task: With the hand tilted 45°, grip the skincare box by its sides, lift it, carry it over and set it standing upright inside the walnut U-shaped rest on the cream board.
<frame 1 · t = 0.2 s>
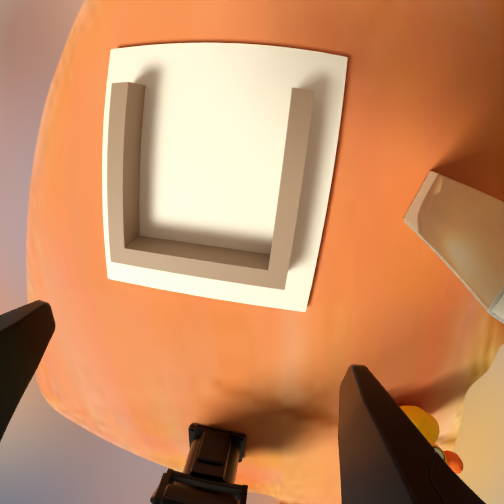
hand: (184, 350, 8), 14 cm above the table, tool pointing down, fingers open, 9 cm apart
skincare box: (443, 213, 20), on the table
duckling: (398, 411, 28), on the table
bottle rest: (208, 174, 21), on the table
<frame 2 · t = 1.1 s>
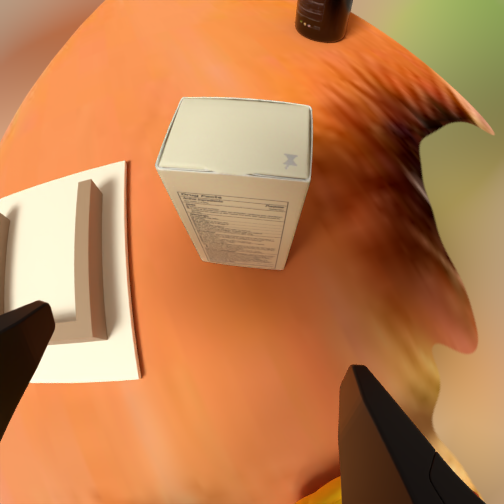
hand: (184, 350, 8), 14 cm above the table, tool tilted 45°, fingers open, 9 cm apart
supplement bottle: (318, 32, 34), on the table
skincare box: (243, 240, 24), on the table
duckling: (347, 492, 17), on the table
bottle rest: (46, 274, 22), on the table
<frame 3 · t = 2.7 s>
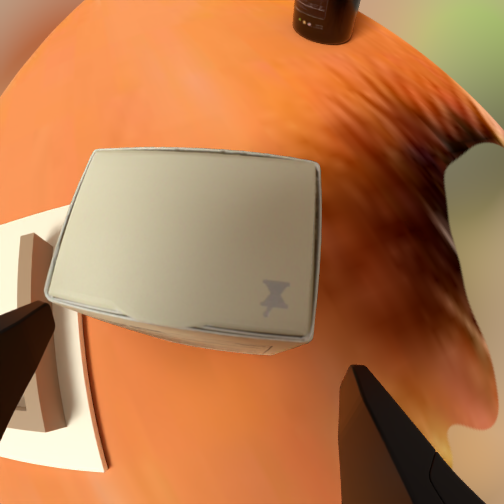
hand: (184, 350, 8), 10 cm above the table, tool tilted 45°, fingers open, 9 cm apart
supplement bottle: (320, 32, 29), on the table
skincare box: (222, 314, 18), on the table
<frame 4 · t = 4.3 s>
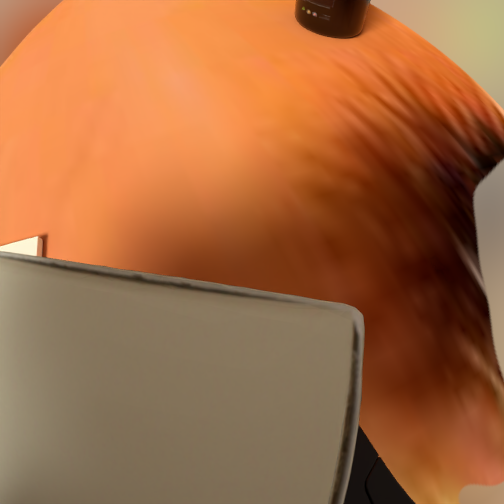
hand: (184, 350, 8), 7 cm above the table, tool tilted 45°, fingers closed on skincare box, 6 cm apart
supplement bottle: (327, 24, 24), on the table
skincare box: (206, 382, 14), on the table, touching gripper
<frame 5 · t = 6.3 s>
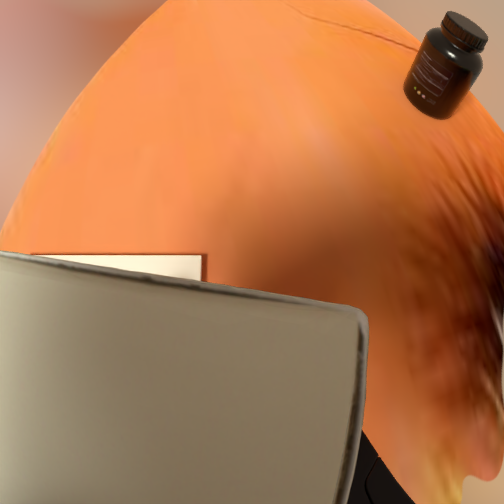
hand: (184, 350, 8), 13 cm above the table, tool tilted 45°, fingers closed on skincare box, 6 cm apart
supplement bottle: (426, 100, 29), on the table
skincare box: (205, 381, 14), point 6 cm above the table, touching gripper
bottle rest: (94, 374, 20), on the table
when the fingers open (8 cm above the table, at t = 8.6 s): skincare box drops 1 cm, resting on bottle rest.
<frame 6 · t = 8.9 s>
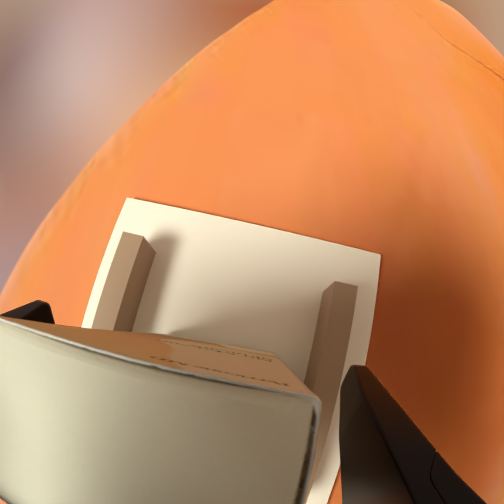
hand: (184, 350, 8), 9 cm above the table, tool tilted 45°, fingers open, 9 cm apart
skincare box: (208, 381, 15), point 1 cm above the table, touching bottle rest
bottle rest: (210, 379, 16), on the table
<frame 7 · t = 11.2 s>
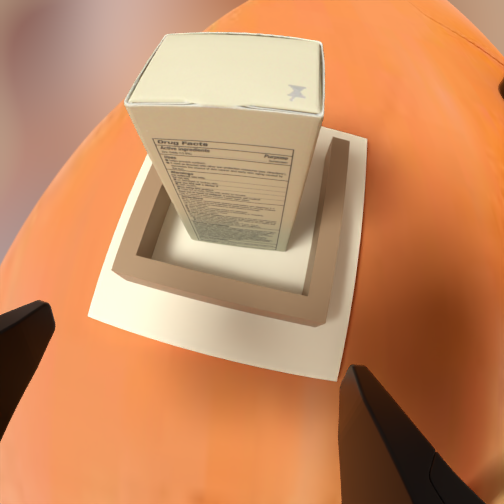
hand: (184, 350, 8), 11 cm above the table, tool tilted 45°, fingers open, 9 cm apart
skincare box: (240, 217, 20), resting on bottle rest
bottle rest: (240, 218, 21), on the table
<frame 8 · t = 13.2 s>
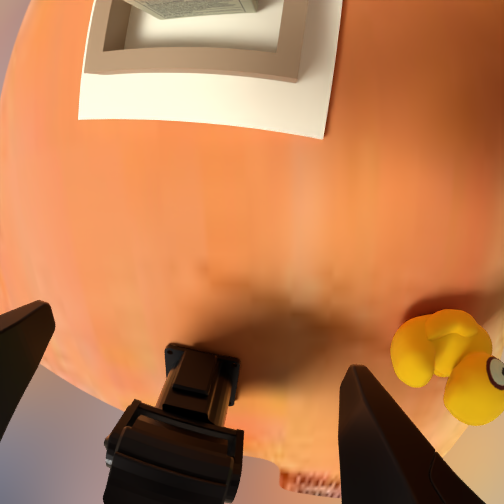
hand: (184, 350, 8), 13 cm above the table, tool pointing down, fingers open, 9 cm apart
duckling: (437, 324, 22), on the table
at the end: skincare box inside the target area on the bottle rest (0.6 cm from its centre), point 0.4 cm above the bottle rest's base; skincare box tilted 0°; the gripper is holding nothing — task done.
